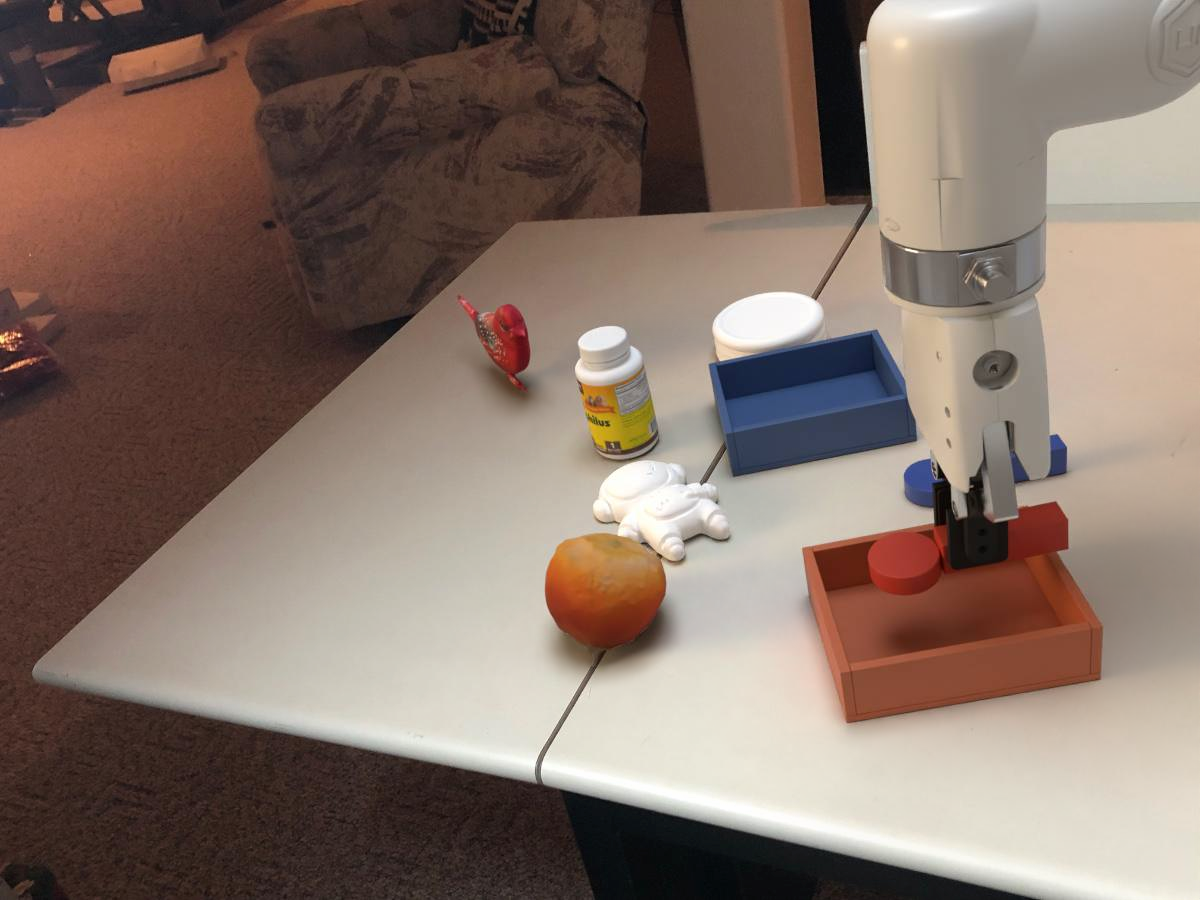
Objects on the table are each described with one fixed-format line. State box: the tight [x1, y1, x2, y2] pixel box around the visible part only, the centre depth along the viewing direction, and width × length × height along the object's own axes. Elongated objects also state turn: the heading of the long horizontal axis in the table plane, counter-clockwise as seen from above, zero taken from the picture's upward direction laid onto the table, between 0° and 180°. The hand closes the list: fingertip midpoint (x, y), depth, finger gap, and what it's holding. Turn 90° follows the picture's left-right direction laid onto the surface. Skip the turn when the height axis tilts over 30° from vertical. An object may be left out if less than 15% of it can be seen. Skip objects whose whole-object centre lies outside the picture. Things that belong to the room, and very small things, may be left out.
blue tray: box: [708, 328, 918, 477], centre depth 87 cm, size 14×11×4 cm
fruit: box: [544, 532, 667, 669], centre depth 71 cm, size 8×8×8 cm
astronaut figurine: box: [592, 459, 731, 562], centre depth 81 cm, size 9×12×3 cm
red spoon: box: [868, 500, 1069, 595], centre depth 62 cm, size 11×4×2 cm, turn 92°
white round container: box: [711, 291, 828, 362], centre depth 98 cm, size 10×10×4 cm
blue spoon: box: [903, 433, 1068, 508], centre depth 76 cm, size 11×4×2 cm, turn 92°
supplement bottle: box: [574, 325, 660, 460], centre depth 88 cm, size 6×6×10 cm
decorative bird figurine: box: [456, 294, 531, 393], centre depth 103 cm, size 3×18×10 cm, turn 29°
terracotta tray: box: [801, 505, 1104, 723], centre depth 65 cm, size 14×11×4 cm
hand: (970, 547), depth 62 cm, fingers closed on red spoon, 1 cm apart
